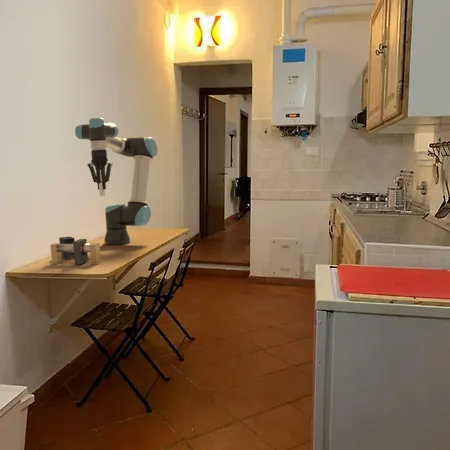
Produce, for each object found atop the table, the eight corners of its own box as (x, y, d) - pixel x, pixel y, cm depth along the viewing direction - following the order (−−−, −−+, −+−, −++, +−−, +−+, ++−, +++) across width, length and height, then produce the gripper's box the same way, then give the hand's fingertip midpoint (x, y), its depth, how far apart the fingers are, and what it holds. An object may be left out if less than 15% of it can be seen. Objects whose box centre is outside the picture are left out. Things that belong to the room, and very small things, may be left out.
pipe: (51, 264, 226) (50, 244, 225) (56, 262, 230) (54, 243, 229) (96, 264, 222) (95, 244, 221) (100, 262, 226) (99, 243, 225)
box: (76, 258, 239) (74, 237, 238) (64, 259, 236) (63, 239, 234) (71, 256, 245) (69, 236, 244) (60, 257, 242) (58, 237, 241)
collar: (74, 264, 222) (72, 241, 220) (82, 260, 229) (80, 238, 228) (80, 264, 221) (78, 241, 220) (88, 260, 229) (86, 238, 227)
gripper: (83, 149, 235) (87, 196, 239) (107, 148, 233) (111, 196, 236) (90, 149, 242) (93, 195, 246) (113, 148, 240) (117, 194, 244)
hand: (102, 195), depth 241 cm, fingers closed
